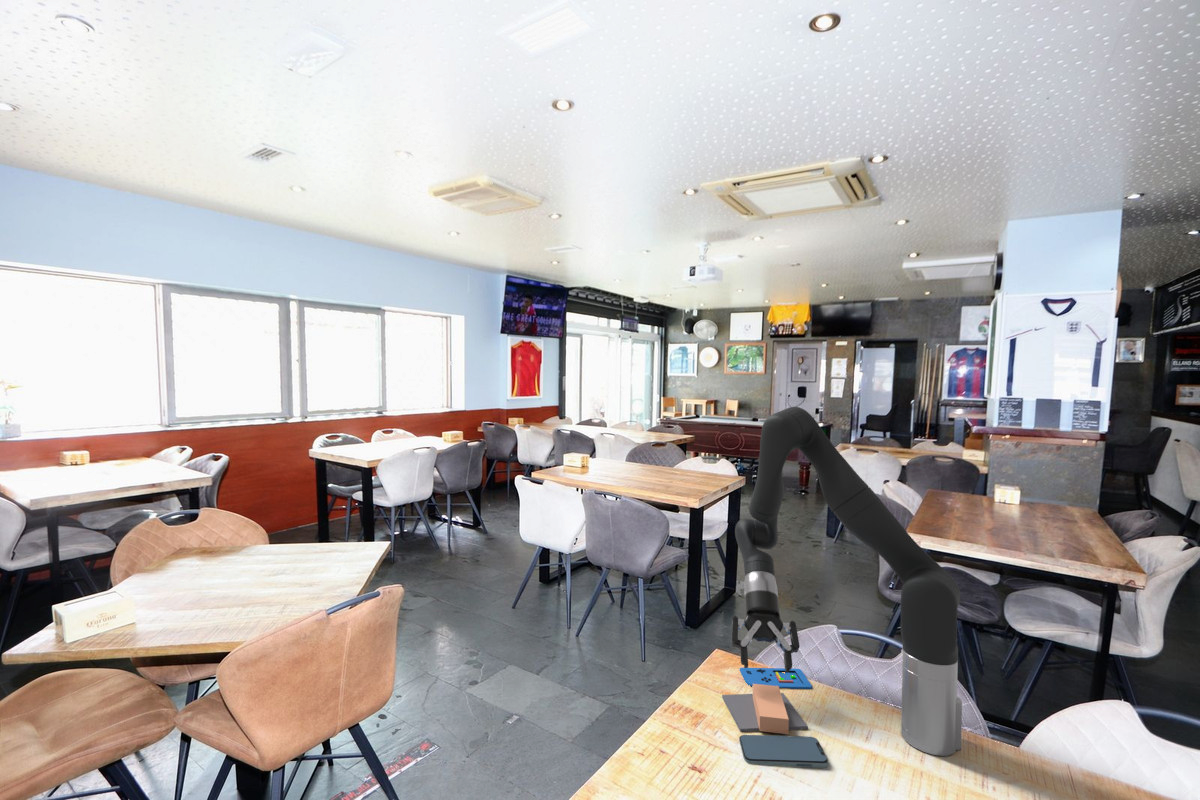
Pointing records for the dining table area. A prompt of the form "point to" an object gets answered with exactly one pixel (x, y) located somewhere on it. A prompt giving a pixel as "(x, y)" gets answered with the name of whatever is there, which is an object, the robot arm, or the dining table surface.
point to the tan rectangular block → (770, 709)
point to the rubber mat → (746, 714)
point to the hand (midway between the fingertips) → (766, 669)
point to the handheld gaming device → (776, 677)
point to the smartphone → (783, 751)
